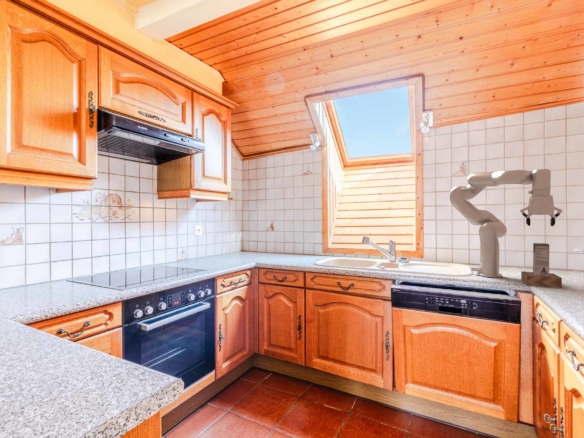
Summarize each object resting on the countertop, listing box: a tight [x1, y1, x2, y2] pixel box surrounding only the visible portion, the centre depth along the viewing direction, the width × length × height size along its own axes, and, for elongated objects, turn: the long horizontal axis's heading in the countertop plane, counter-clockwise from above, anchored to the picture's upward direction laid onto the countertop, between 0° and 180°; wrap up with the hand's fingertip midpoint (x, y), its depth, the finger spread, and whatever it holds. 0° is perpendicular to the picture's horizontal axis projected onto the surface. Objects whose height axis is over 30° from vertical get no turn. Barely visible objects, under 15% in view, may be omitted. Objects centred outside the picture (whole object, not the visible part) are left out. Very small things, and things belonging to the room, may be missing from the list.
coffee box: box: [532, 242, 550, 277], centre depth 160 cm, size 9×6×16 cm
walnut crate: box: [520, 270, 563, 289], centre depth 160 cm, size 14×13×5 cm
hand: (540, 225), depth 161 cm, fingers open, 9 cm apart
